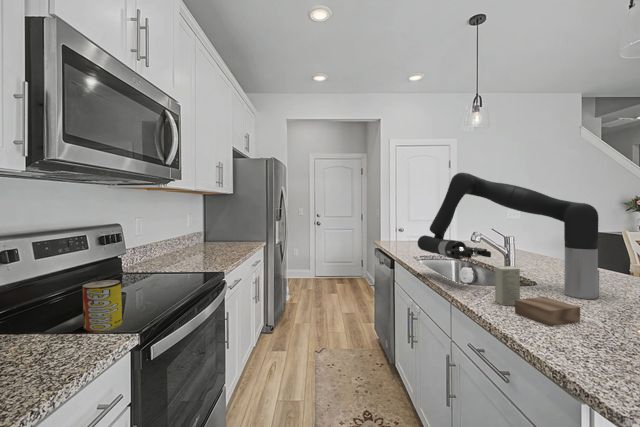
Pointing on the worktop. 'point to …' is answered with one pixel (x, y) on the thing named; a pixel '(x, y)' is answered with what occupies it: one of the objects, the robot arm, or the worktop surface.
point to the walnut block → (547, 311)
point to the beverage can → (102, 305)
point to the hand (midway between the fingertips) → (480, 255)
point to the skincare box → (507, 285)
